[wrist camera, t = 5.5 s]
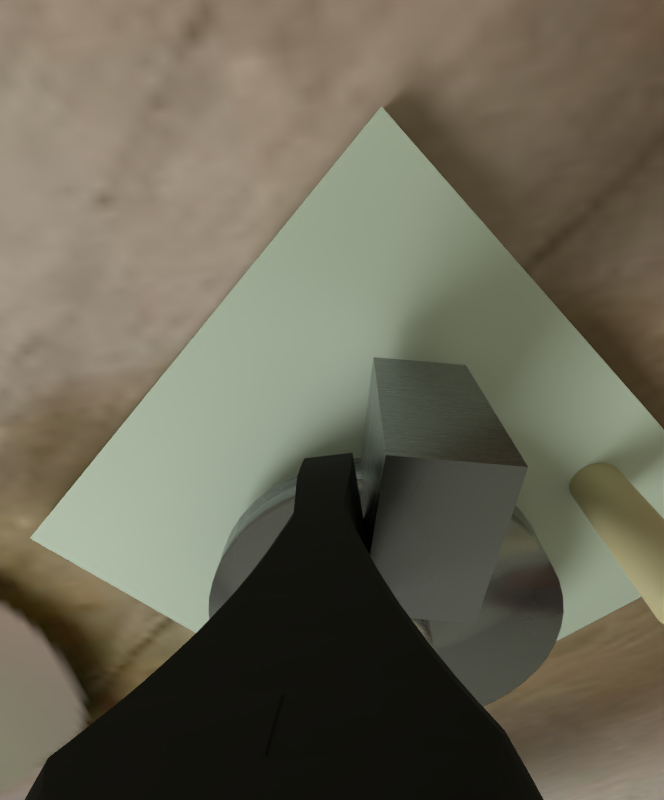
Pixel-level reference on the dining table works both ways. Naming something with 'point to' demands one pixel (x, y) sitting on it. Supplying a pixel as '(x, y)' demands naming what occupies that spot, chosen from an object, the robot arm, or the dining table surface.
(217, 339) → the board
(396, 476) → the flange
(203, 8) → the dining table surface
